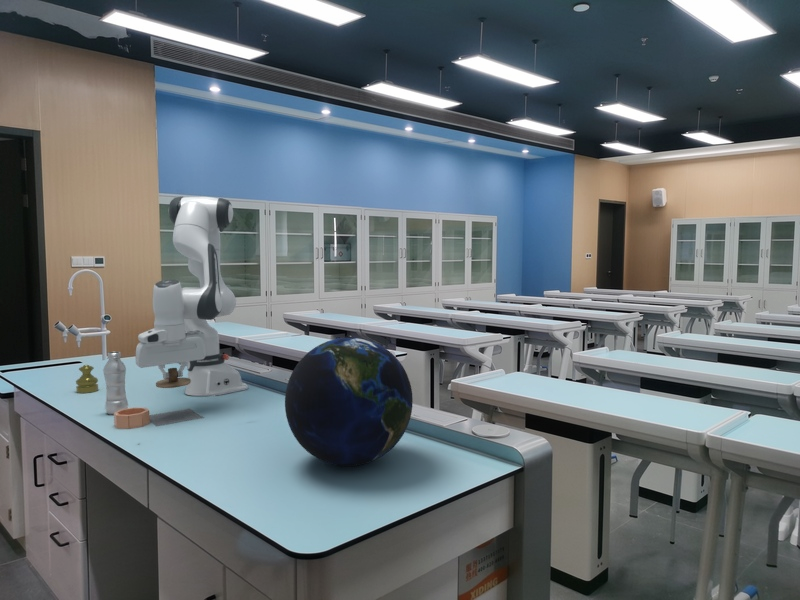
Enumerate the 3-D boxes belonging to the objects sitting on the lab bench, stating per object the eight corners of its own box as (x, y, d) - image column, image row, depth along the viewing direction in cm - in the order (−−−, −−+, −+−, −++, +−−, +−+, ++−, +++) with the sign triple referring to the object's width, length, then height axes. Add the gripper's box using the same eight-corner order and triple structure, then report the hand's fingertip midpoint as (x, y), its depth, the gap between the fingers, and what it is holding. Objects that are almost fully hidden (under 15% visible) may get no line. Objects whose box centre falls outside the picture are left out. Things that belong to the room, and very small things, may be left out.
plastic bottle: (133, 412, 185) (130, 351, 183) (114, 418, 179) (111, 354, 177) (119, 410, 187) (116, 350, 186) (100, 415, 181) (97, 353, 180)
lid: (184, 378, 184) (183, 363, 183) (195, 384, 176) (194, 368, 176) (151, 383, 178) (150, 368, 177) (161, 389, 170) (160, 374, 169)
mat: (189, 410, 187) (189, 408, 187) (204, 419, 176) (204, 417, 176) (144, 418, 178) (144, 416, 178) (156, 428, 167) (156, 426, 167)
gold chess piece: (86, 394, 212) (84, 367, 211) (71, 392, 215) (70, 366, 214) (103, 389, 219) (101, 363, 218) (88, 388, 221) (87, 362, 221)
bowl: (144, 420, 176) (143, 405, 176) (152, 426, 169) (151, 411, 169) (112, 425, 170) (111, 411, 170) (119, 432, 163) (118, 417, 163)
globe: (304, 496, 118) (300, 351, 115) (275, 452, 145) (271, 334, 143) (435, 473, 129) (433, 341, 127) (385, 436, 157) (383, 327, 155)
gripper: (200, 328, 184) (203, 370, 186) (132, 335, 172) (135, 381, 173) (207, 330, 179) (210, 374, 181) (137, 338, 167) (140, 384, 168)
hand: (173, 377), depth 177 cm, fingers closed on lid, 3 cm apart
